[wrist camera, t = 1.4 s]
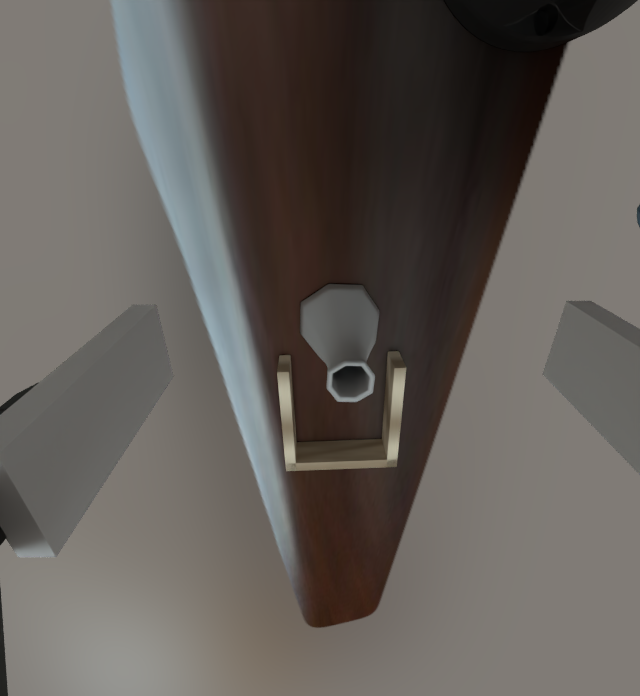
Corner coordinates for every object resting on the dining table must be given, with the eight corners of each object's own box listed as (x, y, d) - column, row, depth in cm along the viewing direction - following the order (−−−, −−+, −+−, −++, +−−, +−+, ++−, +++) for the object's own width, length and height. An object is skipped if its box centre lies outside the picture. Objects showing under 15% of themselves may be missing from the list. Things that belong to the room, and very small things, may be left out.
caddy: (279, 355, 34) (277, 372, 31) (398, 351, 34) (406, 367, 32) (287, 449, 39) (286, 471, 37) (390, 445, 40) (396, 466, 37)
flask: (387, 345, 34) (415, 412, 25) (311, 365, 35) (312, 437, 26) (370, 270, 31) (395, 318, 22) (287, 294, 31) (279, 349, 23)
